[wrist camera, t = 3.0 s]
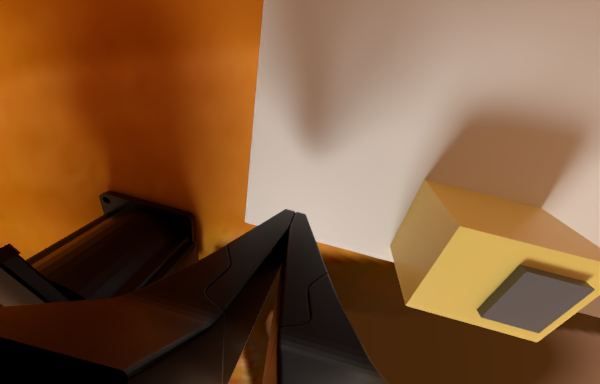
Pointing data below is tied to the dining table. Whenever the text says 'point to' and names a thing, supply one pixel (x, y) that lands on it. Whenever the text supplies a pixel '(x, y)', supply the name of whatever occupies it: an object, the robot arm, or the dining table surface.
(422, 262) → the yellow block
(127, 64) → the dining table surface
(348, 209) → the subfloor panel
